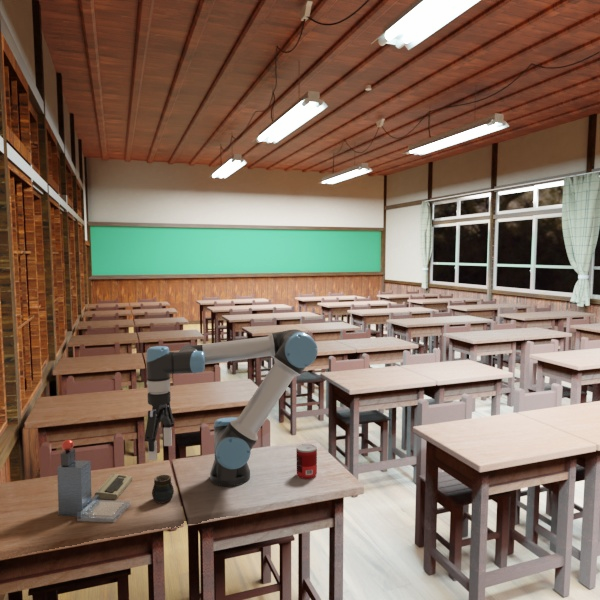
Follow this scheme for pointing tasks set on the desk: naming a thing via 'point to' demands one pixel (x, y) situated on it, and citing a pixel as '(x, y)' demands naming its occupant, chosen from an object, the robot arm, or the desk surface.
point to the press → (84, 495)
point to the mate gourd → (162, 489)
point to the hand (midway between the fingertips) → (160, 452)
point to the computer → (113, 486)
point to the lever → (67, 453)
